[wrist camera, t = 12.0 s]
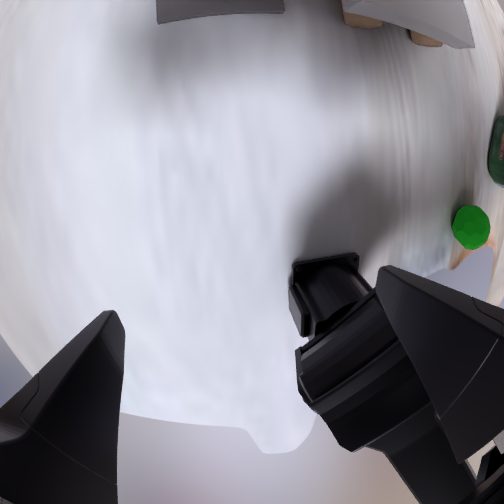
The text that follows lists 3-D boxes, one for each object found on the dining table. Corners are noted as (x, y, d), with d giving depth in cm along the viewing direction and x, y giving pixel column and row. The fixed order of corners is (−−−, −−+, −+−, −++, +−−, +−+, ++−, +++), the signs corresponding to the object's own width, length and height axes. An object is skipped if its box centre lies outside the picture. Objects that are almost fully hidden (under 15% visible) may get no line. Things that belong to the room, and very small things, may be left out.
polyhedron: (453, 194, 23) (483, 210, 19) (473, 203, 24) (500, 218, 20) (440, 235, 25) (467, 255, 21) (461, 240, 26) (486, 258, 22)
